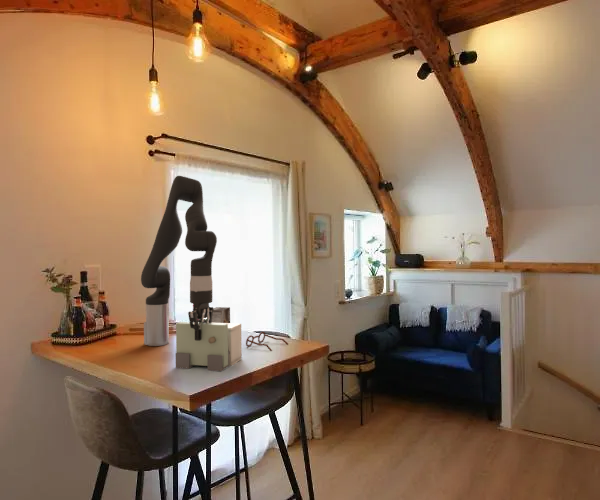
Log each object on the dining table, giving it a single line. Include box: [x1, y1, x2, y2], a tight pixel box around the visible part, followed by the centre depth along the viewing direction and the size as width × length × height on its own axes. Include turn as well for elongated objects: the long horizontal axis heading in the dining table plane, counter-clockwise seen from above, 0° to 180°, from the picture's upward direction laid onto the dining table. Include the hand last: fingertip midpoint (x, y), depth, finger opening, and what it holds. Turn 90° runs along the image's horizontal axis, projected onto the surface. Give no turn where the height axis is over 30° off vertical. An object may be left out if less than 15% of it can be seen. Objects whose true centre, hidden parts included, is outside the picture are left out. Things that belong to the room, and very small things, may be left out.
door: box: [175, 321, 228, 367], centre depth 147 cm, size 18×5×14 cm, turn 75°
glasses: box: [245, 331, 289, 352], centre depth 179 cm, size 13×13×5 cm
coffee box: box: [212, 306, 231, 323], centre depth 176 cm, size 9×6×16 cm
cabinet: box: [175, 322, 243, 372], centre depth 152 cm, size 18×16×13 cm
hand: (201, 338), depth 147 cm, fingers open, 4 cm apart
